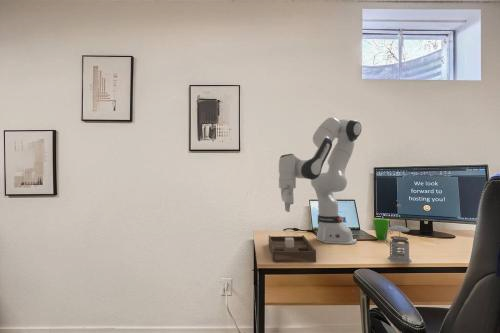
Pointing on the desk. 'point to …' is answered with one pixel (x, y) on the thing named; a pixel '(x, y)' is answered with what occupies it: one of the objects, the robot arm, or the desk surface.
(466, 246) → the desk surface
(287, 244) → the block
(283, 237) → the dark brown rimmed tray
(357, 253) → the desk surface
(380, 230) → the cup
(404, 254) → the french press
